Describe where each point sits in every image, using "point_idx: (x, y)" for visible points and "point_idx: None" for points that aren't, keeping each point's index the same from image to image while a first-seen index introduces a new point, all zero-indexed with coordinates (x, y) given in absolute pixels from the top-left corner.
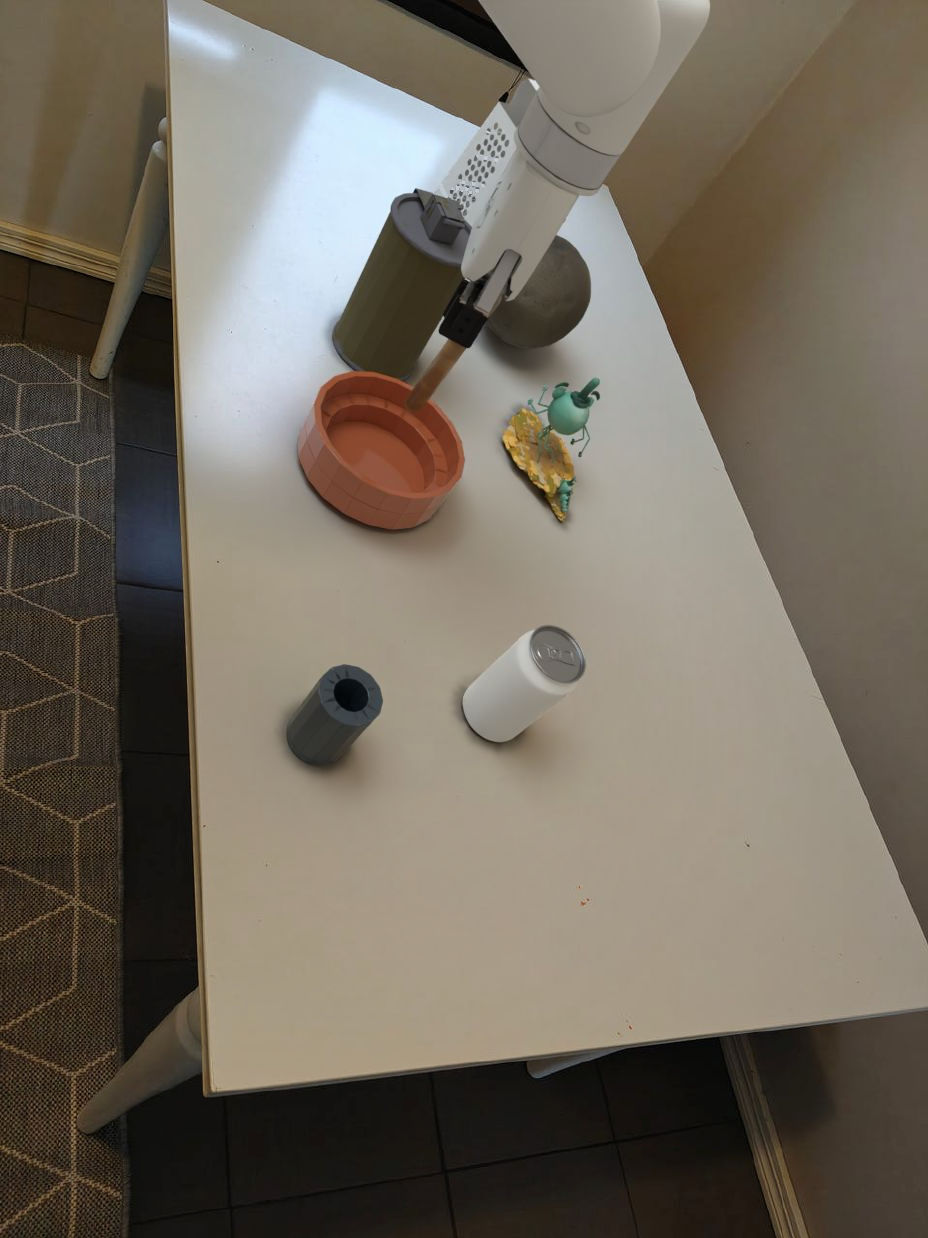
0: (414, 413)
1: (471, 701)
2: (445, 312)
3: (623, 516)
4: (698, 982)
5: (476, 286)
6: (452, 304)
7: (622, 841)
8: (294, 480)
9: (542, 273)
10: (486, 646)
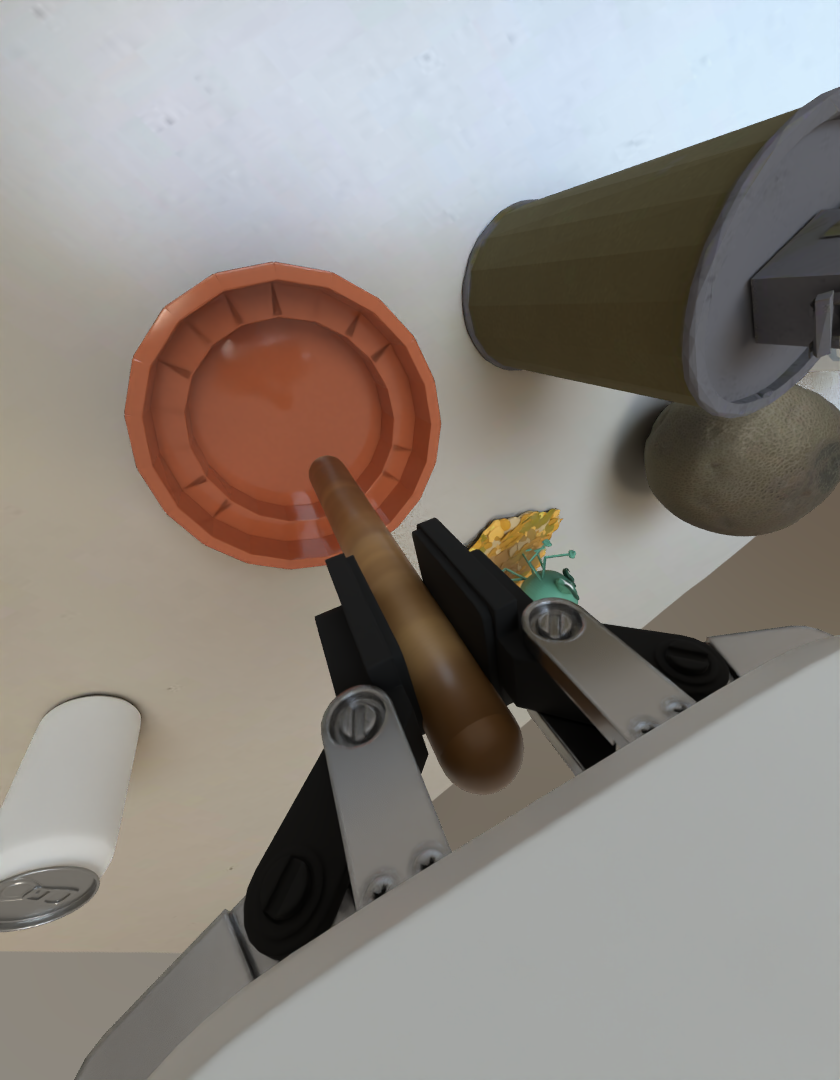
0: (414, 431)
1: (40, 730)
2: (423, 532)
3: None
4: (50, 929)
5: (504, 663)
6: (367, 622)
7: None
8: (138, 328)
9: (762, 479)
10: (179, 669)
